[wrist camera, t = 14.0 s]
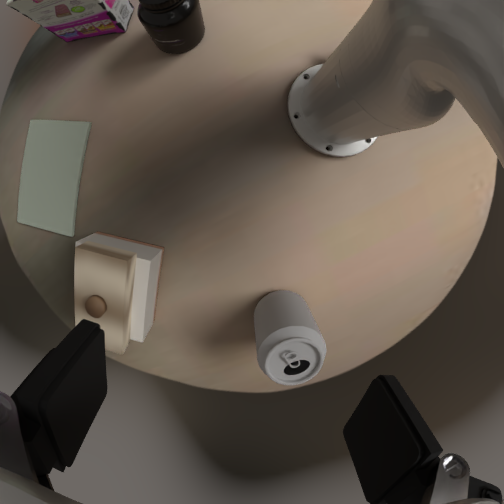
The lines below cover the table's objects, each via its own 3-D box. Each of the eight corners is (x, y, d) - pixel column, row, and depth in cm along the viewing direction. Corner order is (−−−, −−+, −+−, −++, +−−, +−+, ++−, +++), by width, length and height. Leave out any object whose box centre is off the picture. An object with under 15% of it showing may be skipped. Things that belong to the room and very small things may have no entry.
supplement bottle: (165, 63, 30) (135, 23, 18) (149, 29, 28) (119, -14, 16) (214, 41, 29) (203, -7, 18) (195, 8, 28) (180, -42, 16)
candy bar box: (135, 6, 27) (92, -55, 11) (126, 32, 28) (74, -25, 12) (74, 17, 26) (19, -25, 10) (65, 43, 27) (3, 6, 11)
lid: (88, 240, 29) (70, 249, 26) (137, 253, 30) (123, 264, 26) (86, 327, 32) (73, 343, 28) (130, 342, 33) (119, 359, 29)
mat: (33, 120, 30) (30, 119, 29) (91, 122, 31) (89, 122, 31) (19, 221, 34) (17, 221, 33) (74, 236, 35) (71, 236, 35)
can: (265, 342, 40) (273, 399, 29) (244, 300, 38) (246, 350, 27) (314, 323, 40) (337, 375, 28) (296, 278, 38) (319, 322, 26)
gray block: (97, 231, 35) (75, 241, 29) (164, 247, 36) (150, 260, 30) (93, 302, 38) (75, 320, 32) (154, 320, 39) (142, 342, 33)
